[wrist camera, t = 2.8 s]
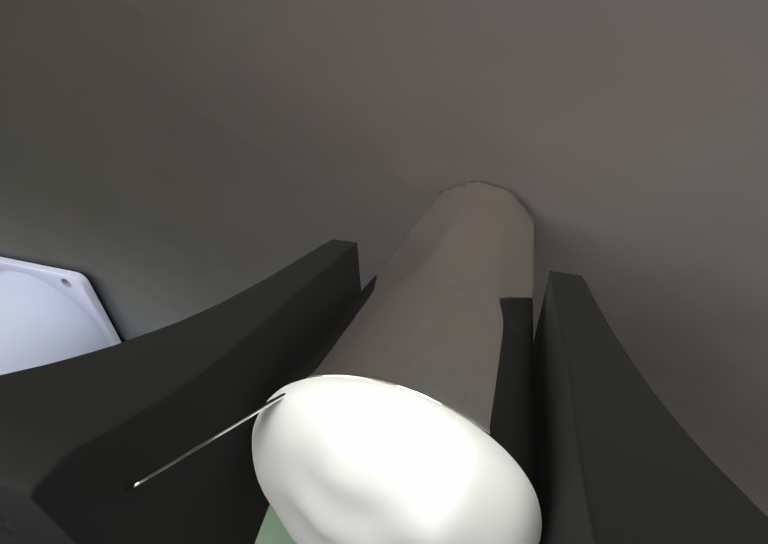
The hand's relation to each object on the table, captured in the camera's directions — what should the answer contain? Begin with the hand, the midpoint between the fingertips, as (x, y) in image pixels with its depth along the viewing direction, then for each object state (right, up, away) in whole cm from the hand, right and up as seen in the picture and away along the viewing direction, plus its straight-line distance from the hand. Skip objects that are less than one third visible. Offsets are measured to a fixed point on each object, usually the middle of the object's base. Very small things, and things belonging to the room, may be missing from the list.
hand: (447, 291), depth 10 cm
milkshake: (+1, +2, +3) cm, 4 cm away
